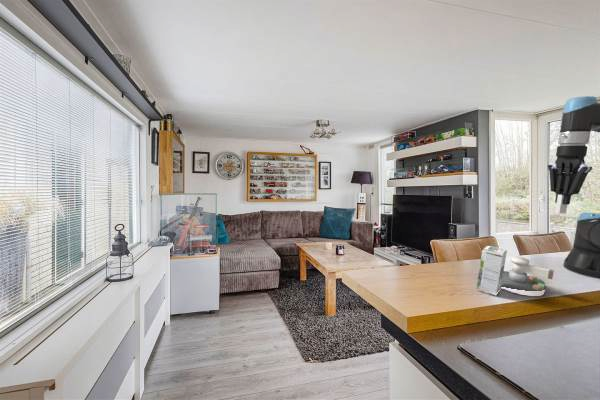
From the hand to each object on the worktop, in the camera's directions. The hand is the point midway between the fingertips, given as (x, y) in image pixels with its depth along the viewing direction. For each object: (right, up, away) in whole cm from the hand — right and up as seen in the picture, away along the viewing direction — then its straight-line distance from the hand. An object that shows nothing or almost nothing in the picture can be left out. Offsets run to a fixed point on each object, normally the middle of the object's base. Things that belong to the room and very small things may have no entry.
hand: (560, 212), depth 99 cm
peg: (-16, -20, -6) cm, 26 cm away
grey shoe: (-18, -25, -3) cm, 31 cm away
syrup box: (-30, -26, -7) cm, 40 cm away
